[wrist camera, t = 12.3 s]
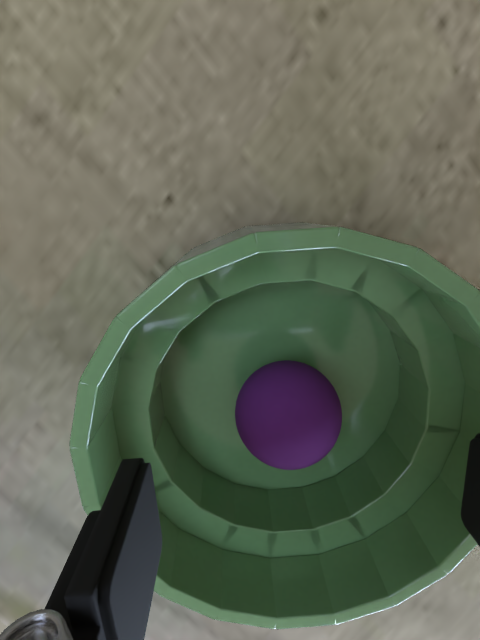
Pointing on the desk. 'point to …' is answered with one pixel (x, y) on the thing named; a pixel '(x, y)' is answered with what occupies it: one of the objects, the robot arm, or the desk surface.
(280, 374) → the ball
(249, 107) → the desk surface
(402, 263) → the green bowl
